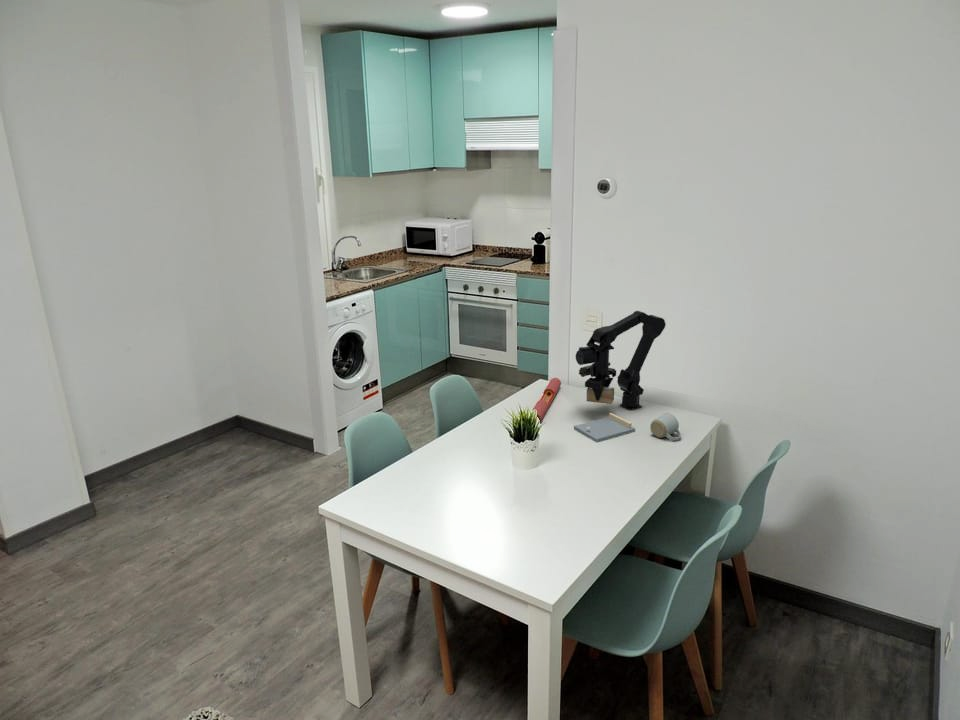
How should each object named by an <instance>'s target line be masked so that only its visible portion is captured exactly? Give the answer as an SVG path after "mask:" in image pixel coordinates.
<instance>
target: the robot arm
mask: <svg viewBox="0 0 960 720" xmlns="http://www.w3.org/2000/svg"><path fill="white" fill-rule="evenodd" d="M639 324H642V327H641V329H642V335H641V338H640V340H639V343H638V345H637V346H636V349H635V351H634V353H633V356H632V358H631V360H630V362H629V364H628V366H627V367H626V368H625V369H623V368H621V370H620V371H619V374H618V375H617V370H616V369H615V368H613V367H612V368H611V367H610V366H611V362H610V350H614V349H615V347H614V346H613V345H612V343H613V342H615V341H616V340H617V339H616V338H617V337H619V335H622V334H623V333H625V332H627V331H629V330H630V329H632V328H634V327H636V326H638V325H639ZM665 328H666V321H665V318H663V317H660V316H656V315H653V314H647V313H645V312H643V311H640V310H635V311H633V313H631V314H629V315H627V316H626V317H624V318H621V319H620V320H618V321H616V322H614V323H613V324H611V325H607V326H605V325H604V326H601V327H599V328H596V329H594V330H593V331H592V335H591V337H590V338H589V340H588V342H587V343H586V346H580V347H578V350H577V351H576V354H575V360H576V363H577V364H578V365H579V366H581V367H580V368H579V370H578V375H580V376H581V377H582V378H584V377H587V376H590V377H589V378H588V379H587V380H585V382H584V388H588V387H589V388H592V389H593V391H594V395H595V398H596V400H598V401H599V399H600V397H601V394H602V392H603V389H604V387H610V385H611V383H612V381H614V378H615V377H616V376H617V377H616V378H617V385H618V387H619V388H620V391H622V392H623V393H622V397H621V403H620V404H619V406H620V407H622V408H625V409H626V410H629V411H632V410H635V409H641V408H642V407H643V406H642V405H641V404H640V398H641V397H640V396H642V395H643V393H644V391H645V389H644V388H642V386H640V381H641V374H640V372H641V370H642V368H643V366H644V363H645V360H646V359H647V357H648V354H649V352H650V350H651V348H652V345H653V344H654V341H655V340H656V339H657V338H658V337H660V335H661V334H662V333H663V331H664V330H665ZM589 364H590V365H589ZM583 365H586V366H583ZM611 376H612V377H611Z"/></svg>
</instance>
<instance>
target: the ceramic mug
mask: <svg viewBox="0 0 960 720" xmlns="http://www.w3.org/2000/svg"><path fill="white" fill-rule="evenodd" d="M679 426H680V425H679V421H678V418H677V417H676V416H675V415H674V414H672V413H670V412H666V413H663V414H662V415H660V416H658V417H655V419H654V420H652V421H651V423H650V432H651V433H652V435H653V436H654V437H657V438H659V439H662V438H667V439H668V440H669V441H673V442H677V441H679V440H680V439H681V438H682V433H681V431H680V430H679ZM674 433H676V434H677V436H678V437H674V436H672V434H674Z"/></svg>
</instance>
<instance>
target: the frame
mask: <svg viewBox="0 0 960 720" xmlns="http://www.w3.org/2000/svg"><path fill="white" fill-rule="evenodd" d="M614 400H615V387H610V386H609V387H604V389H603V392H602V394H601V397H600V399H599V401H598V400H596V398H595V395H594V391H593V389H592V388H589V387H586V402H589V403H597V404H607V405H612V404H613V403H614Z"/></svg>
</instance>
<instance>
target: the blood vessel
mask: <svg viewBox="0 0 960 720" xmlns="http://www.w3.org/2000/svg"><path fill="white" fill-rule="evenodd" d="M561 385H562V380H561V379H560V378H557V377H553V378H551V380H550V381H549V382H548V385H546V387H545V389H544V390H543V394H542V395H541V397H540V399H539V400H537V402H536V403H535V405H534V407H533V409H532V410H534V409H536V410H537V417H538V418H539V420H540V422H541V421H542V420H543V418H544V416H545V414H546V412H547V411H548V409H549V407H550V405H551V403H552V402H553V400H554V398H555V397H556V395H557V393H558V391H559V389H560V388H561Z"/></svg>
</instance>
